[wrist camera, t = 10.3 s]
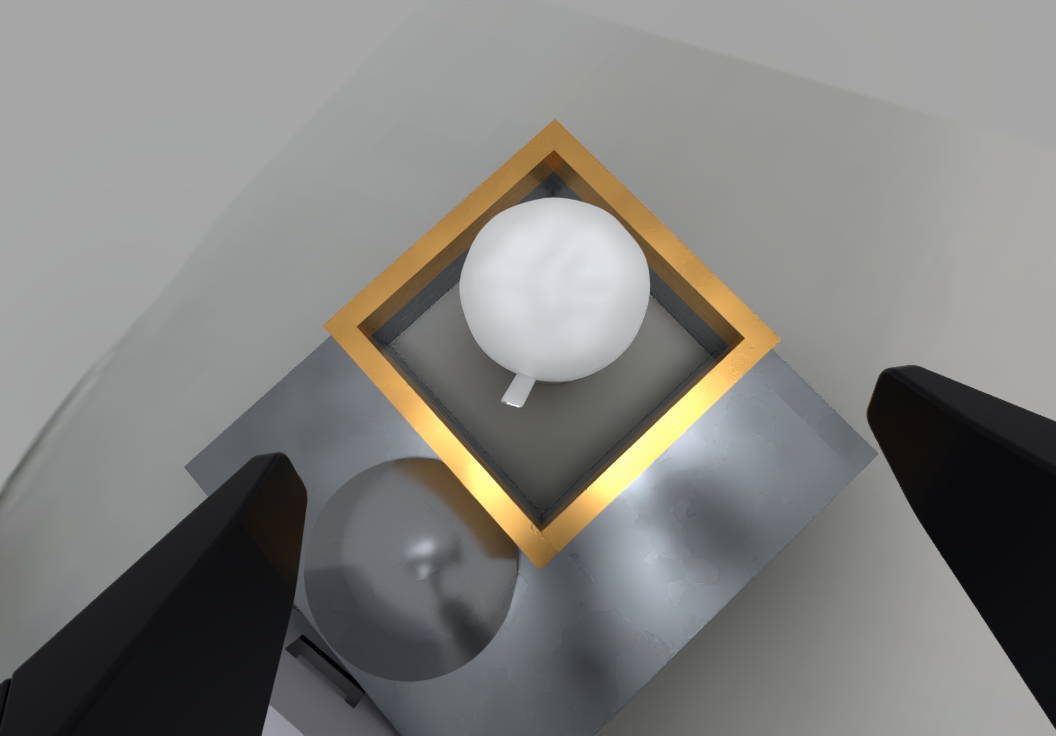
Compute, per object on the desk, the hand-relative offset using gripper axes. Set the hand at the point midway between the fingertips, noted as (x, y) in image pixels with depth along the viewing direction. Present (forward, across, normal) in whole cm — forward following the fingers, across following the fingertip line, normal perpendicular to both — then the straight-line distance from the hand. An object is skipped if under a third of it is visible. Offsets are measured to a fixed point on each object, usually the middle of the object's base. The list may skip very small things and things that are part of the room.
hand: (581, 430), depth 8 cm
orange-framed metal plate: (+8, +2, +9) cm, 12 cm away
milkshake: (+11, 0, +7) cm, 13 cm away
